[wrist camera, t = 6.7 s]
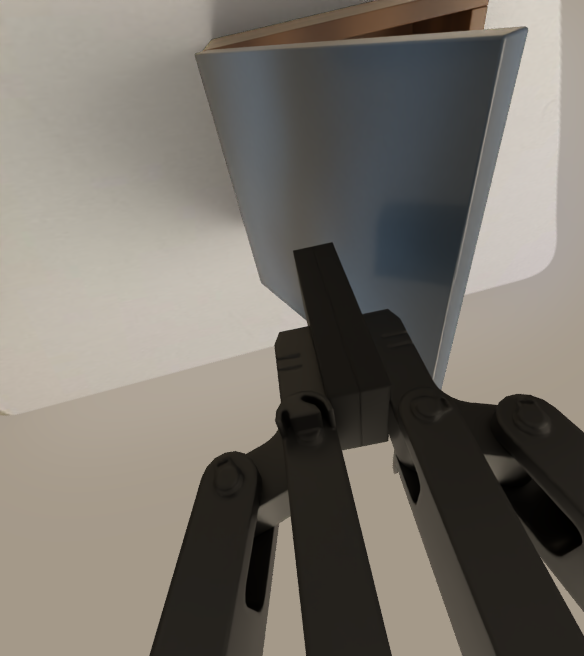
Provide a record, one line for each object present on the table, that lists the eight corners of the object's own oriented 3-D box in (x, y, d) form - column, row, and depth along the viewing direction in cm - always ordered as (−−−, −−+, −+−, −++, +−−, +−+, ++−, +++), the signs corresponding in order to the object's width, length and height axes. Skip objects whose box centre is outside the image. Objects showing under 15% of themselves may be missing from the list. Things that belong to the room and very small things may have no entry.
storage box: (422, -11, 22) (492, -18, 16) (407, 194, 31) (448, 238, 25) (211, 39, 22) (202, 50, 16) (259, 226, 32) (264, 277, 26)
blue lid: (531, 25, 6) (504, 35, 6) (437, 410, 16) (425, 420, 16) (208, 49, 16) (193, 53, 16) (269, 278, 26) (260, 283, 25)
